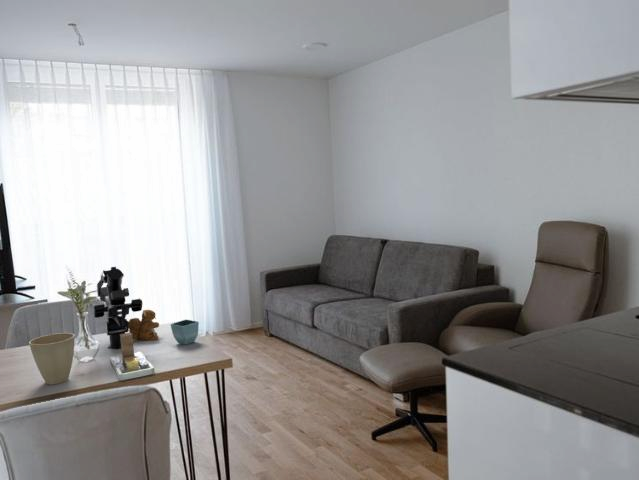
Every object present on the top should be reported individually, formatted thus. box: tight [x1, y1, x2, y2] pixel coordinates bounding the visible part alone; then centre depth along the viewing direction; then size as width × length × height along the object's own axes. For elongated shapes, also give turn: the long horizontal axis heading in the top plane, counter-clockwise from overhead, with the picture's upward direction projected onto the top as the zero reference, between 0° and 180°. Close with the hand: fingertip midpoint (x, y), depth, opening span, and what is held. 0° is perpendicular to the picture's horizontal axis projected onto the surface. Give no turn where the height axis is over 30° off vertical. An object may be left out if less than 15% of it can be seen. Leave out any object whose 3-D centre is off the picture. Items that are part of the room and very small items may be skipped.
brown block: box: [120, 332, 136, 367], centre depth 215 cm, size 8×4×11 cm, turn 28°
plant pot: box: [28, 332, 76, 385], centre depth 202 cm, size 15×15×16 cm
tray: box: [115, 361, 156, 381], centre depth 203 cm, size 8×12×3 cm
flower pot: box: [170, 319, 199, 346], centre depth 242 cm, size 9×9×9 cm
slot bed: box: [109, 351, 149, 375], centre depth 215 cm, size 18×12×2 cm, turn 27°
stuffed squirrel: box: [128, 309, 160, 342], centre depth 252 cm, size 10×14×13 cm
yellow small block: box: [125, 358, 140, 372], centre depth 209 cm, size 5×4×3 cm
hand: (121, 325), depth 225 cm, fingers closed
